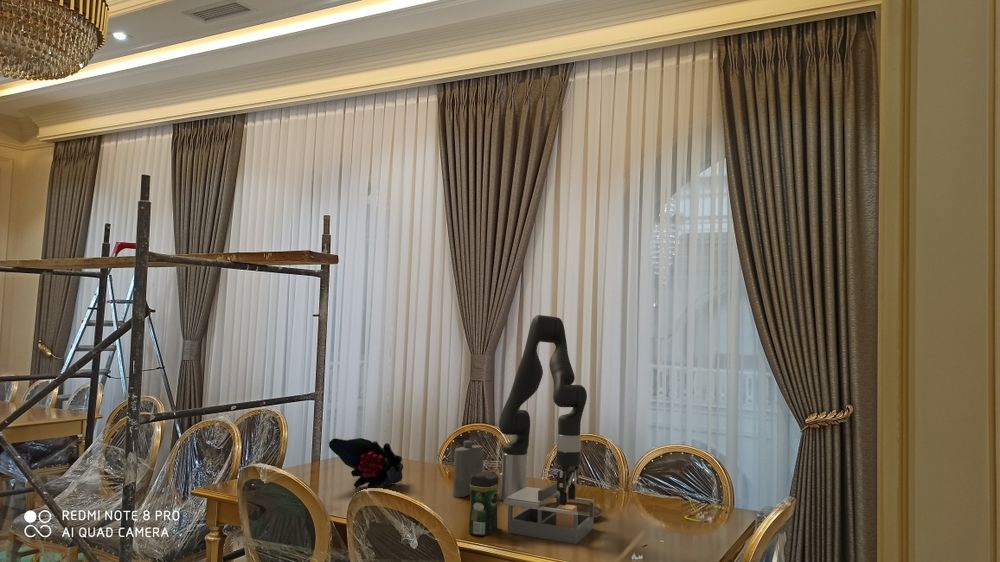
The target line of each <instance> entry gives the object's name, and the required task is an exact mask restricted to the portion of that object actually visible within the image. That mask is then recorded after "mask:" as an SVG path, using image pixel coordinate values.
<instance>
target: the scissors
mask: <svg viewBox="0 0 1000 562" xmlns="http://www.w3.org/2000/svg"><path fill="white" fill-rule="evenodd" d="M689 502H690V503H689V504H690V506H691V508H692V509H693V511H694V512H695V513H696V512H698V511H700V510H699V508H697V507H696V505H695V503H694V501H693V499H692V498H691V499H690V500H689ZM711 506H713V507H711ZM708 507H709V508H717V507H719V508H718V509H720V506H717V505H709V506H708ZM721 508H722V509H721V510H723V509H724V508H723V507H721ZM688 515H689V514H688ZM688 515H684V518H685V519H687V520H689V521H690V520H691V521H695V522H699V521H701V520H699V519H695V518H691V517H689V516H688Z"/></svg>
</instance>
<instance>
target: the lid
mask: <svg viewBox="0 0 1000 562" xmlns="http://www.w3.org/2000/svg"><path fill="white" fill-rule="evenodd" d="M556 495H560V492H559V491H557V482H552V483H550V484H548V485H546V486H544V487H542V488H538V487H533V486H532V487H531V486H526V487H525V488H523V489H521V490H519V491H518V492H516V493H514V494H512V495H510V496H508V497H506V498H505V499H504V501H503V504H504V505H508V504H510V505H517V506H523V507H522V508H524V507H530V508H537V509H538V508H539V506H541V505H543V504H544V503H545V504H546V502H547V503H548V501H550V500H551V499H554V498H553V497H555V496H556ZM517 506H516V507H517Z"/></svg>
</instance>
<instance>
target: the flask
mask: <svg viewBox="0 0 1000 562" xmlns="http://www.w3.org/2000/svg"><path fill="white" fill-rule="evenodd" d="M473 442H474V441H472V440H464V441H463V446H460V447H456V448H455V449H454V461H453V489H452V497H454V496H455V497H454V498H456V497H464V498H466V497H468V496H467V495H469V496H471V495H470V494H471V491H470V477H471V476H473V475H475V474H478V473H481V472H483V470H484V469H483V464H484V446H482V445H477V444H475V445H474V443H473ZM465 496H466V497H465Z"/></svg>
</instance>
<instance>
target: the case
mask: <svg viewBox="0 0 1000 562" xmlns="http://www.w3.org/2000/svg"><path fill="white" fill-rule="evenodd" d="M554 498H555V500H556V501H555V502H556V508H549V507H543V506H541V505H540V506H539V508H538V509H537V508H530V507H523V506H517V505H510V504H507V505H508V510H507V512H508V514H507V533H509V534H515V535H520V536H527V537H533V538H539V539H545V540H552V541H555V542H556V541H558V542H563V543H568V544H574V545H575V544H576V545H577V544H578V543H579V542H580V541H581V540H583V539H584V538H585V537H586V536H587V535H588V534H589V533H591V531H592V530H594V506H595V500H594V499H589V498H583V497H582V498H581V497H577V496H575V499H574V500H573V502H580V503H587V504H588V503H589V505H590V515H584V514H578V512H576V511H569V510H563V509H557V507H558V506H559V505H560V504H559V498H560V494H559V495H556V496H555V497H553V498H552V499H554ZM567 501H572V500H571V499H568V495H567ZM514 507H517V508H518V507H519V508H525V509H523V510H521V511H520V512H518V513H516V514H514V515H513V510H514V509H513V508H514ZM556 512H558V513H565V514H572V515H574V521H573V528H568V527H562V526H556Z"/></svg>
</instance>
